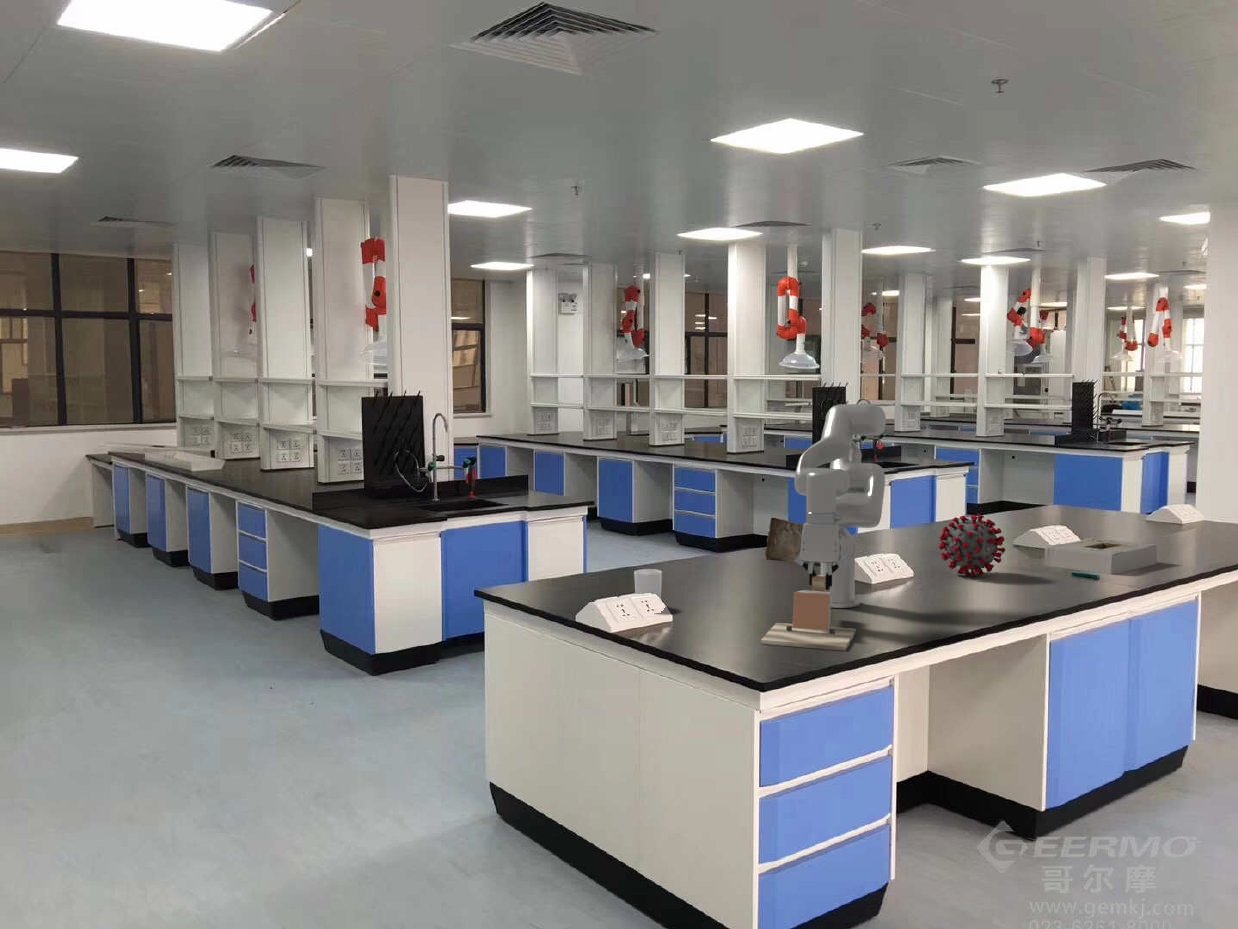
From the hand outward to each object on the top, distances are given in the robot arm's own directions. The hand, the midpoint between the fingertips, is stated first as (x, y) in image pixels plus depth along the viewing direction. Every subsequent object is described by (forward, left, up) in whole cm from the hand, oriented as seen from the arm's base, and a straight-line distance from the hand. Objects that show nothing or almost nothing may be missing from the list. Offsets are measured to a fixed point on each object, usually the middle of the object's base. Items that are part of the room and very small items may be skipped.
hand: (820, 588), depth 251 cm
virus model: (-80, +36, -9) cm, 88 cm away
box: (-114, +77, -10) cm, 138 cm away
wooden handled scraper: (+2, 0, -1) cm, 3 cm away
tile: (+13, 0, -3) cm, 14 cm away
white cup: (-4, -49, -9) cm, 50 cm away
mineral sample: (-88, -26, -9) cm, 92 cm away
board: (+17, 0, -9) cm, 20 cm away
